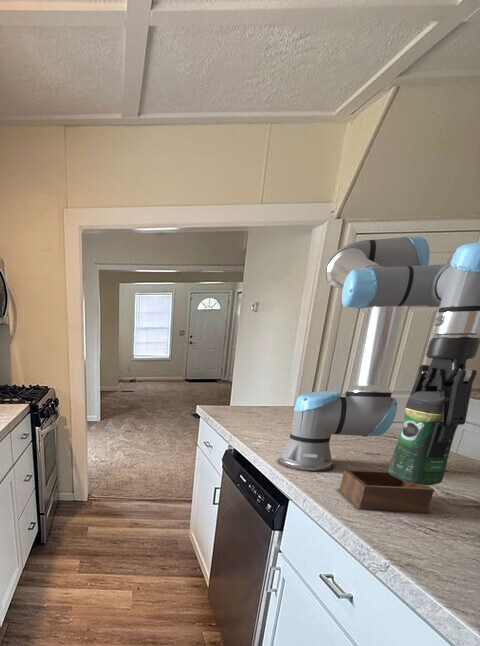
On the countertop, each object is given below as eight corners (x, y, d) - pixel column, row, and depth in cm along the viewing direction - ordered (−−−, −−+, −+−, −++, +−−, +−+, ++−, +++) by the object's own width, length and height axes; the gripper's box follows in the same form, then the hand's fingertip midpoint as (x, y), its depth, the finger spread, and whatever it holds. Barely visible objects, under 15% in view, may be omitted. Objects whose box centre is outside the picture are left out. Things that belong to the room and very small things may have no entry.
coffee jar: (449, 486, 83) (480, 395, 76) (410, 487, 83) (438, 396, 76) (415, 471, 92) (440, 388, 85) (380, 471, 92) (402, 389, 85)
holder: (339, 490, 111) (344, 469, 109) (399, 493, 109) (405, 472, 106) (359, 509, 99) (364, 486, 97) (426, 512, 97) (434, 489, 95)
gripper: (404, 336, 87) (378, 438, 95) (471, 337, 67) (430, 465, 76) (443, 335, 86) (413, 439, 94) (523, 336, 66) (476, 467, 75)
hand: (421, 450), depth 85 cm, fingers closed on coffee jar, 9 cm apart
